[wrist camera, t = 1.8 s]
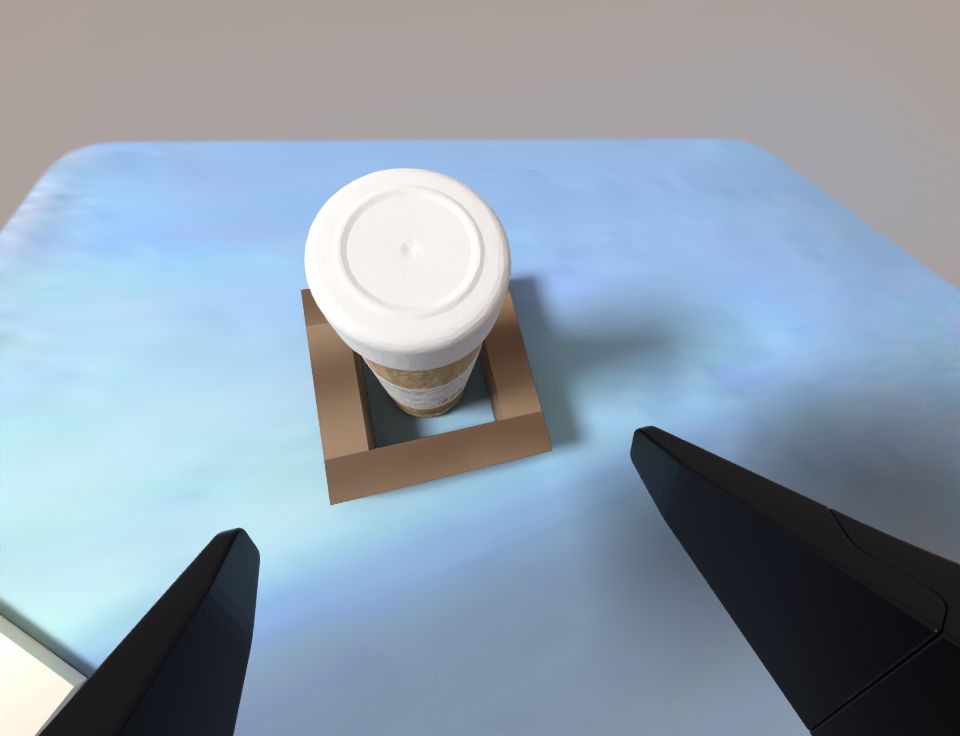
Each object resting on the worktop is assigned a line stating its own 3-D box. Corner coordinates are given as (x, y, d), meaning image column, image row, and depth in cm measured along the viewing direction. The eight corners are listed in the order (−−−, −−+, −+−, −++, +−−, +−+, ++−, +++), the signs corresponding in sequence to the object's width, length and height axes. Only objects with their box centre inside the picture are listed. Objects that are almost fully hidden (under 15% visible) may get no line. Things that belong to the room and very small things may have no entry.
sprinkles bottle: (438, 327, 22) (443, 129, 9) (481, 391, 21) (556, 281, 8) (369, 367, 21) (256, 211, 8) (412, 436, 20) (369, 393, 7)
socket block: (538, 451, 21) (552, 450, 18) (343, 499, 19) (330, 505, 16) (494, 280, 23) (501, 259, 20) (316, 309, 21) (301, 289, 19)
